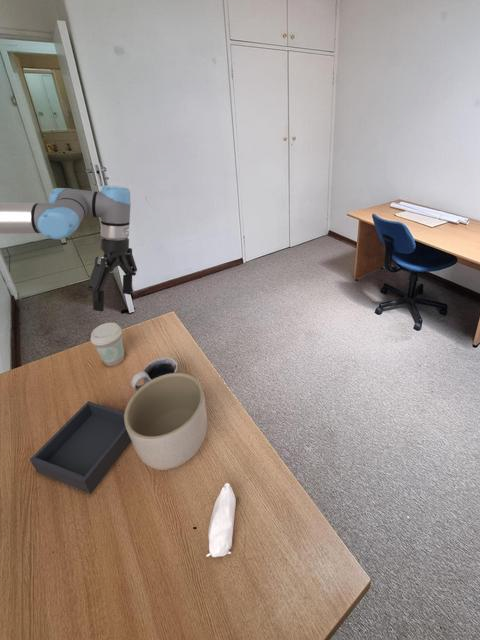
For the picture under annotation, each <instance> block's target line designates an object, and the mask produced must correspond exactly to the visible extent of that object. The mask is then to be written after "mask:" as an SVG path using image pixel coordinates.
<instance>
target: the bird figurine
mask: <svg viewBox="0 0 480 640" xmlns="http://www.w3.org/2000/svg"><path fill="white" fill-rule="evenodd" d="M236 503H237V499H236V495H235V493H234V490H233V488H232V486H231V484H230V483H228V482H226V483H225V484H224V485H223V486H222V488H221V489H220V492H219V494H218V496H217V498H216V500H215V503H214V506H213V509H212V513H211V516H210V520H209V525H208V532H207V533H208V534H207V535H208V536H207V539H208V550H209V552H208V553H207V554H206V555H205V557H206V558H208V557H210V556H211V557H212V558H219V557H225V556H226V555H231V554H232V552H231V551H230V550H231V548H232V545H233V535H234V523H235V512H236Z"/></svg>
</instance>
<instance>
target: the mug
mask: <svg viewBox="0 0 480 640" xmlns="http://www.w3.org/2000/svg"><path fill="white" fill-rule="evenodd" d="M170 373H179V371H178V363H177V361H176V360H175V359H174V358H171V357H160V358H156V359H154V360H152V361H151V362H149V363H148V364H147V365H146V366H145V367H144V368H143V369H142V371H138V372H137V373H136V374H135V375H134V376H133V378H132V379H131V382H130V384H131V387H132V389H133V390H134V391H135V392H136V391H137V390H138V389H140V388H141V387H142V386H143V385H145V384H146V383H147V382H149V381H151V380H153V379H155V378H157V377H159V376H162V375H165V374H170ZM141 380H143V384H140V385H137V384H138V383H139V382H140V381H141Z"/></svg>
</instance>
